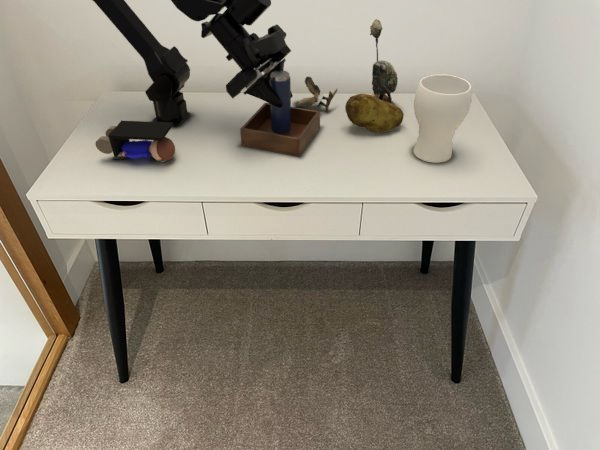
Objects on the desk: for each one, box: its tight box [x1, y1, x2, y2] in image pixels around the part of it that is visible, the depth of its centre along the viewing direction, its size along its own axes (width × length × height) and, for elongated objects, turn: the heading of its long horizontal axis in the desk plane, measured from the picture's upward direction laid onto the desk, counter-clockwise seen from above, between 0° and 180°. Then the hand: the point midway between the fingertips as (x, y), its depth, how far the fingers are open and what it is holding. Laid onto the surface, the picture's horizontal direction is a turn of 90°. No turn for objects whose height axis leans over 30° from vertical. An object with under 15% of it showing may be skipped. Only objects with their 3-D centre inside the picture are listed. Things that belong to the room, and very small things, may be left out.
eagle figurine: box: [294, 76, 339, 113], centre depth 119 cm, size 8×7×9 cm
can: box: [270, 70, 292, 134], centre depth 105 cm, size 4×4×12 cm
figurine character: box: [95, 120, 176, 163], centre depth 101 cm, size 7×8×15 cm
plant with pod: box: [369, 18, 398, 107], centre depth 114 cm, size 8×11×20 cm
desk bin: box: [239, 102, 321, 157], centre depth 109 cm, size 13×13×4 cm
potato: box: [344, 93, 405, 133], centre depth 110 cm, size 8×13×8 cm, turn 81°
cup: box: [413, 73, 473, 164], centre depth 100 cm, size 11×11×15 cm
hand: (286, 102), depth 104 cm, fingers closed on can, 4 cm apart
